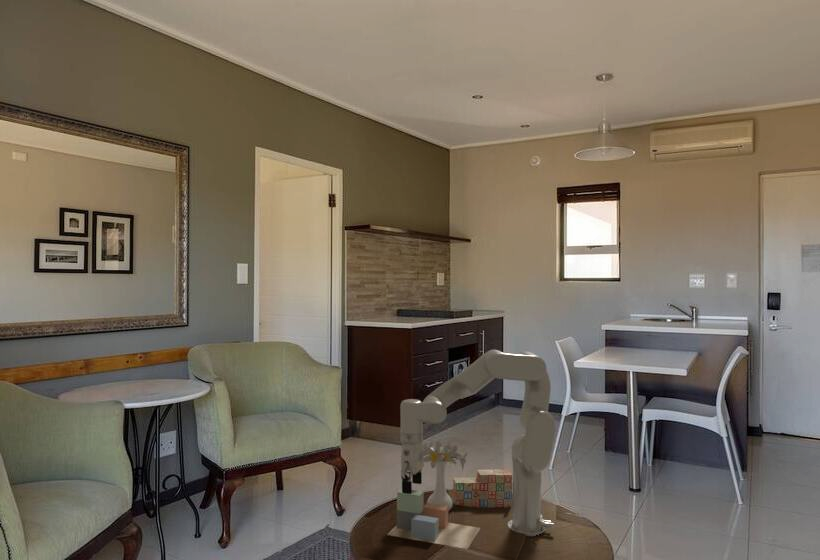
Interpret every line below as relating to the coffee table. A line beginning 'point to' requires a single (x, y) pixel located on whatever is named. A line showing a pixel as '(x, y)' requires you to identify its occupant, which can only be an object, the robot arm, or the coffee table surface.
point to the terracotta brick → (437, 513)
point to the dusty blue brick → (425, 528)
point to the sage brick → (410, 501)
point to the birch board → (445, 535)
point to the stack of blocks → (484, 489)
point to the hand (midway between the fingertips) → (412, 488)
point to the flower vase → (441, 469)
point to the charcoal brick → (405, 519)
